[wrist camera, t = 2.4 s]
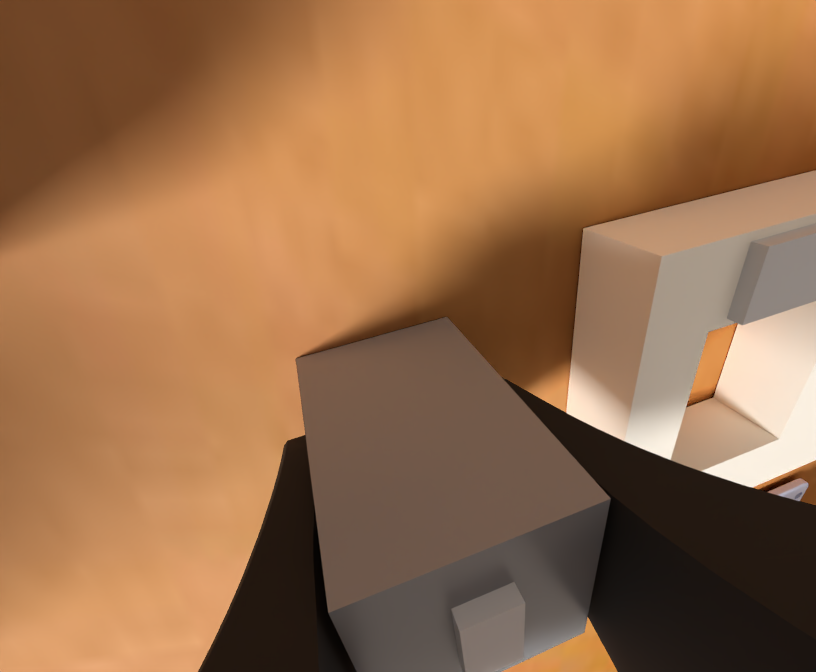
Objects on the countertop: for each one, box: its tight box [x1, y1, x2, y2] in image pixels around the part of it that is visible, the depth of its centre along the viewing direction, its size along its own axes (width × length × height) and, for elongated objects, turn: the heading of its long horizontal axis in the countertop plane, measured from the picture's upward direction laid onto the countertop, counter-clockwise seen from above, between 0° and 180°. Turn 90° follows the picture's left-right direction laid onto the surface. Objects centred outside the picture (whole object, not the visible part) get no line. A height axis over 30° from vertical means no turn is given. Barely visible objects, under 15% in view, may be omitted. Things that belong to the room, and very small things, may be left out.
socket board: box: [566, 170, 816, 488], centre depth 14 cm, size 11×16×3 cm
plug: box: [296, 317, 611, 672], centre depth 9 cm, size 4×4×6 cm
